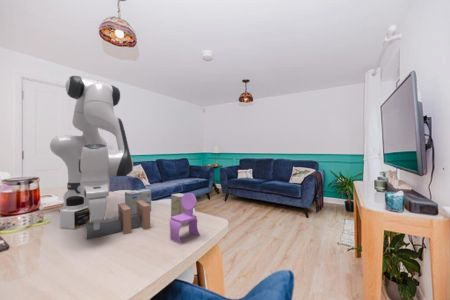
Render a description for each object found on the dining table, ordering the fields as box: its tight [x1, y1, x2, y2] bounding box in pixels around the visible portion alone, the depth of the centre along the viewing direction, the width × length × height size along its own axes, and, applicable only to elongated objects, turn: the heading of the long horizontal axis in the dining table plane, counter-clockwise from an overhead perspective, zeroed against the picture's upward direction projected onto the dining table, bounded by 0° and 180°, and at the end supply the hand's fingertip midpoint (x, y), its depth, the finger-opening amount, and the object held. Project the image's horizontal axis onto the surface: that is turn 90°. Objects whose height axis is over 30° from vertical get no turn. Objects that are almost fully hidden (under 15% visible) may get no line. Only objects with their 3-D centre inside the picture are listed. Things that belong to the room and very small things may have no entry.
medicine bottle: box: [59, 195, 91, 230], centre depth 82 cm, size 7×7×12 cm
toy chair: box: [169, 192, 201, 245], centre depth 70 cm, size 8×9×15 cm
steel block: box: [85, 213, 142, 240], centre depth 76 cm, size 4×18×5 cm, turn 127°
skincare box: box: [170, 192, 188, 227], centre depth 82 cm, size 6×4×12 cm
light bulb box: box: [124, 188, 152, 214], centre depth 99 cm, size 11×7×11 cm, turn 144°
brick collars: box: [117, 200, 151, 235], centre depth 80 cm, size 11×9×9 cm
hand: (95, 226), depth 72 cm, fingers closed on steel block, 4 cm apart
